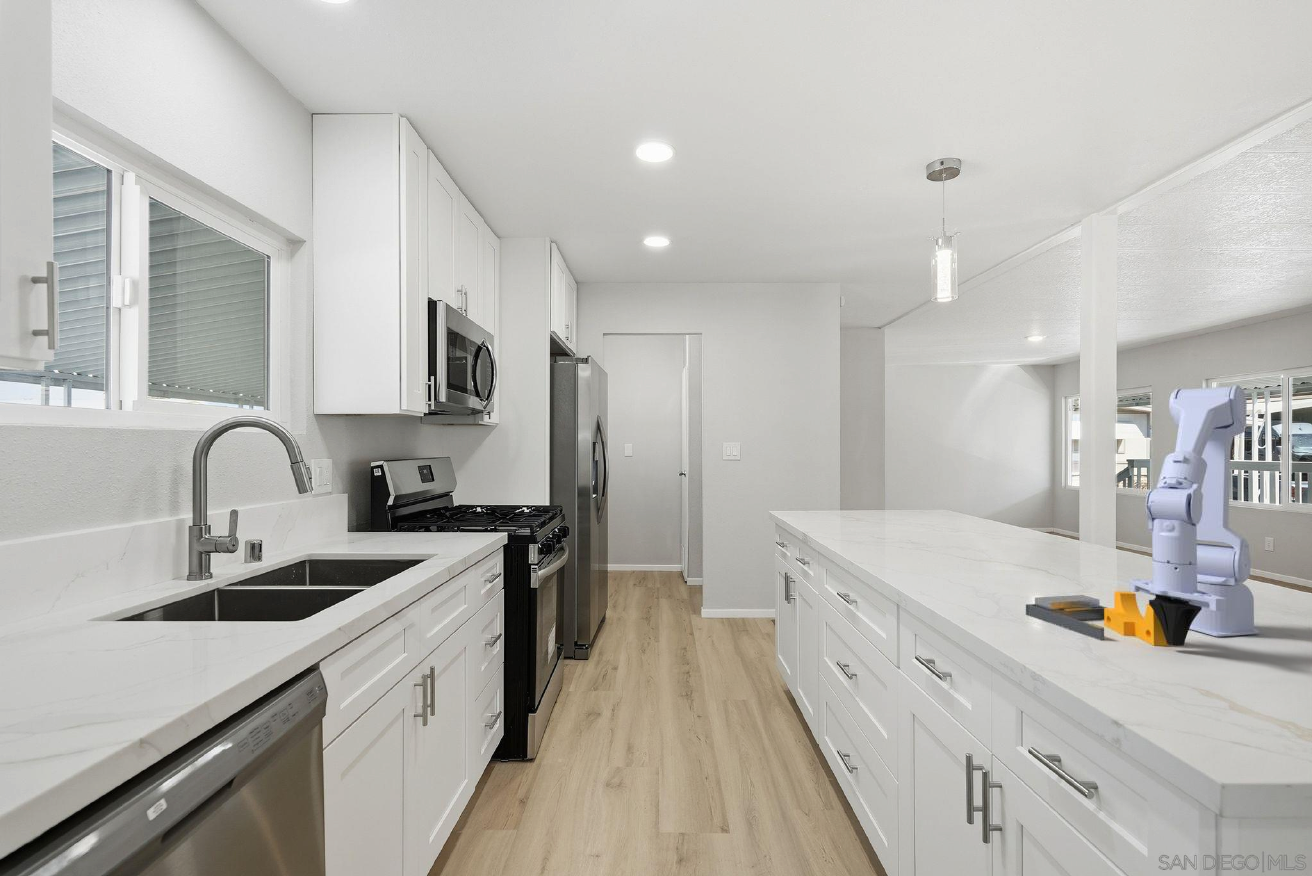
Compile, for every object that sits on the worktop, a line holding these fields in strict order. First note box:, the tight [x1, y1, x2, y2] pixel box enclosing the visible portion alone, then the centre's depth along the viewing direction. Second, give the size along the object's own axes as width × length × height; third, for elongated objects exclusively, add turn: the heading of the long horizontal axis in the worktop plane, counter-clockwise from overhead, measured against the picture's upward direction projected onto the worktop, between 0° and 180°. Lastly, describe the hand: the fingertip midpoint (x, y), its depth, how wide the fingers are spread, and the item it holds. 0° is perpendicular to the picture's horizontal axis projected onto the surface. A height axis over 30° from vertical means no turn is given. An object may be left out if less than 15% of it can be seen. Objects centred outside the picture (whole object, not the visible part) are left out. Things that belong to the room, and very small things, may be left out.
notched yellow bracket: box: [1104, 590, 1172, 647], centre depth 115 cm, size 12×4×6 cm, turn 171°
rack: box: [1025, 594, 1108, 641], centre depth 122 cm, size 14×17×4 cm
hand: (1175, 644), depth 106 cm, fingers closed
